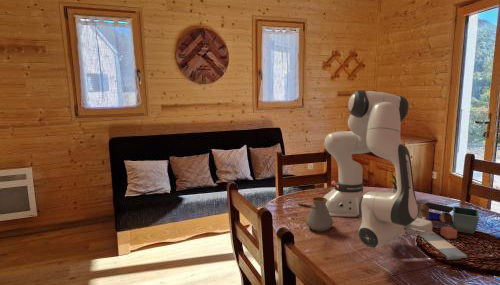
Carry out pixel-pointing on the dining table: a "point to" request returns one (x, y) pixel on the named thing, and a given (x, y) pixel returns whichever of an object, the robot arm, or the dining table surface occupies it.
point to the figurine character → (437, 216)
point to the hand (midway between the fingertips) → (410, 215)
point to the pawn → (424, 211)
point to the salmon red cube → (448, 232)
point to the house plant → (394, 183)
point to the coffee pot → (318, 215)
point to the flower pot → (465, 219)
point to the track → (444, 246)
